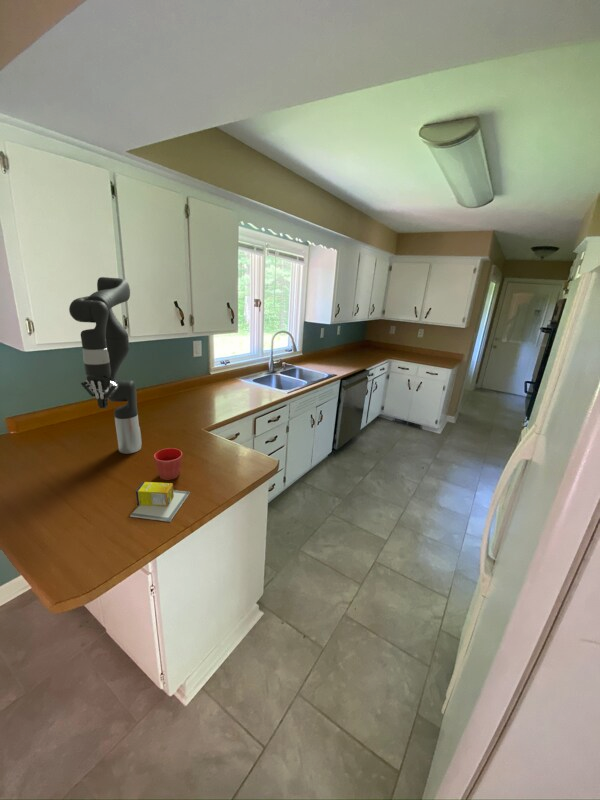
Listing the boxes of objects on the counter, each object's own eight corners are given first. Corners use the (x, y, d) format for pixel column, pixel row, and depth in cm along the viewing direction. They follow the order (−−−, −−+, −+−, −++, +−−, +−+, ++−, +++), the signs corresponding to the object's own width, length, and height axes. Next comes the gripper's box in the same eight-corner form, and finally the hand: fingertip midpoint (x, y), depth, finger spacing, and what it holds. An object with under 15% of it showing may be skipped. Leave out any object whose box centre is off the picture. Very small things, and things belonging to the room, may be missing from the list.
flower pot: (184, 467, 137) (183, 447, 134) (181, 481, 127) (180, 460, 124) (158, 468, 135) (157, 448, 132) (153, 483, 125) (151, 461, 122)
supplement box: (144, 494, 117) (174, 496, 118) (136, 505, 112) (168, 506, 112) (143, 481, 115) (173, 482, 116) (135, 491, 110) (167, 492, 110)
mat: (154, 488, 122) (154, 487, 122) (190, 492, 121) (190, 491, 121) (130, 516, 107) (130, 515, 107) (170, 521, 106) (170, 520, 106)
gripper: (122, 360, 112) (127, 405, 118) (86, 356, 112) (93, 402, 118) (108, 365, 105) (114, 413, 110) (70, 361, 105) (78, 409, 111)
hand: (103, 407), depth 114 cm, fingers closed
